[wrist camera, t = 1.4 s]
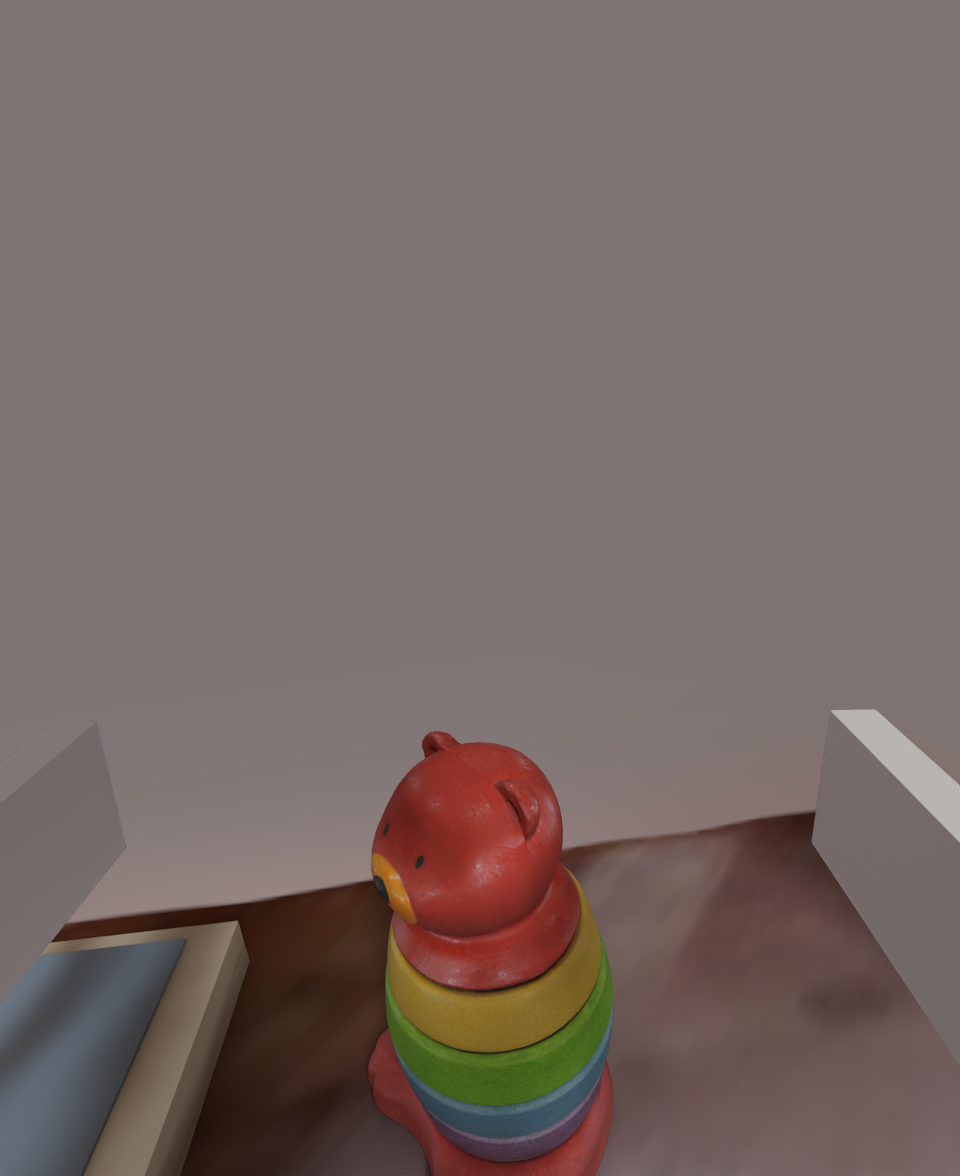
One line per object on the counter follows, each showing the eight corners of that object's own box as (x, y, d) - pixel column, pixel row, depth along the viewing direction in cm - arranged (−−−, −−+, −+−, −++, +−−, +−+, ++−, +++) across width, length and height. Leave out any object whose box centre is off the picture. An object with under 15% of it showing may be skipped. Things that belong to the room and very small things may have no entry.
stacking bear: (356, 1062, 32) (282, 747, 26) (528, 956, 36) (499, 667, 30) (466, 1322, 23) (393, 933, 17) (676, 1138, 28) (677, 781, 22)
